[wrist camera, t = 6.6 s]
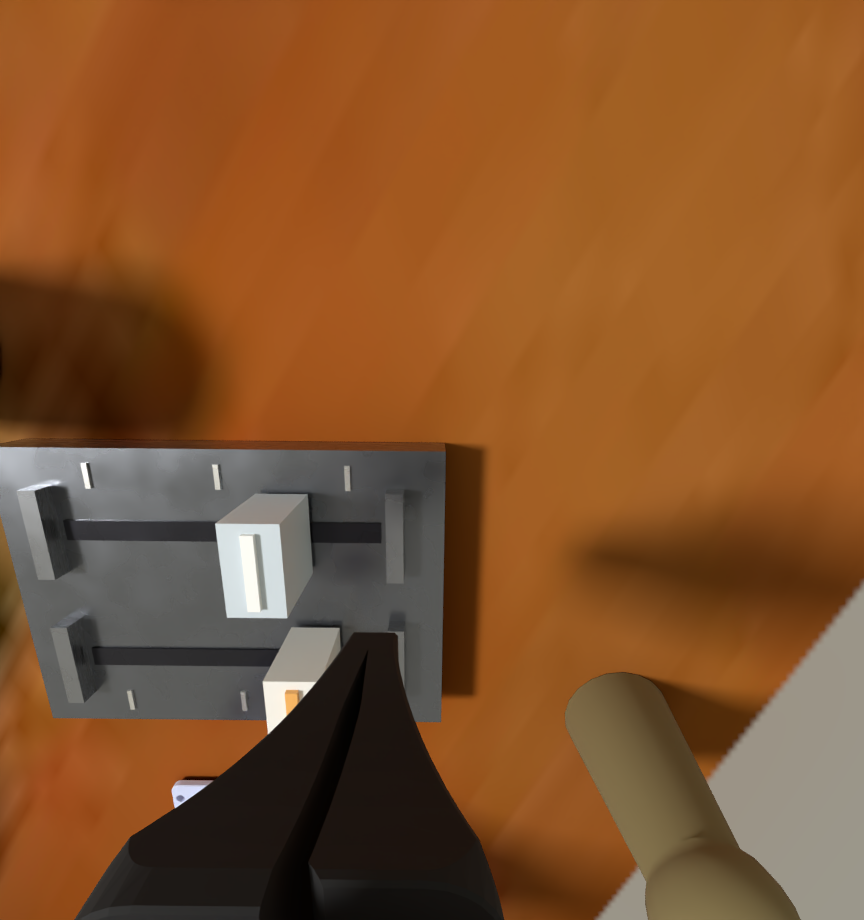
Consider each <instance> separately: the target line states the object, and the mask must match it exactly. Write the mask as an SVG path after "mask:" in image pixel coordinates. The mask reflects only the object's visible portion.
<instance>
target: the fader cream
mask: <svg viewBox="0 0 864 920" xmlns="http://www.w3.org/2000/svg"><path fill="white" fill-rule="evenodd" d="M340 650H341V647H340V628H299V627H291V629H290V631H289V633H288V635H287V637H286V639H285V640H284V642H283V644H282V646H281V648H280V650H279V652H278V654H277V655H276V657H275V659H274V661H273V663H272V665H271V667H270V669H269V671H268V672H267V674H266V676H265V678H264V680H263V690H264V699H265V708H266V717H267V727H268V734H269V733H270V732H271V731H272V730H273V729H274V728H275V727H276V726H277V725H278V724H279V723H280V722H281V721H282V720H283V719H284V718H285V717H286V716H287V715H288V714H289V713H290V712H291V711H292V710H293V708H294V707H295V706H296V705H297V704H298V703H299V702H300V701H301V699H302V698H303V697H304V696H305V695H306V694H307V693H308V691H309V690H310V689H311V688H312V687H313V686H314V684H315V683H316V682H317V681H318V679H319V678H320V677H321V676H322V674H323V673H324V672H325V670H326V669H327V668H328V667H329V665H330V664H331V663H332V661H333V660H334V659H335V657H336V656H337V655H338V653H339V652H340Z"/></svg>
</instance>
